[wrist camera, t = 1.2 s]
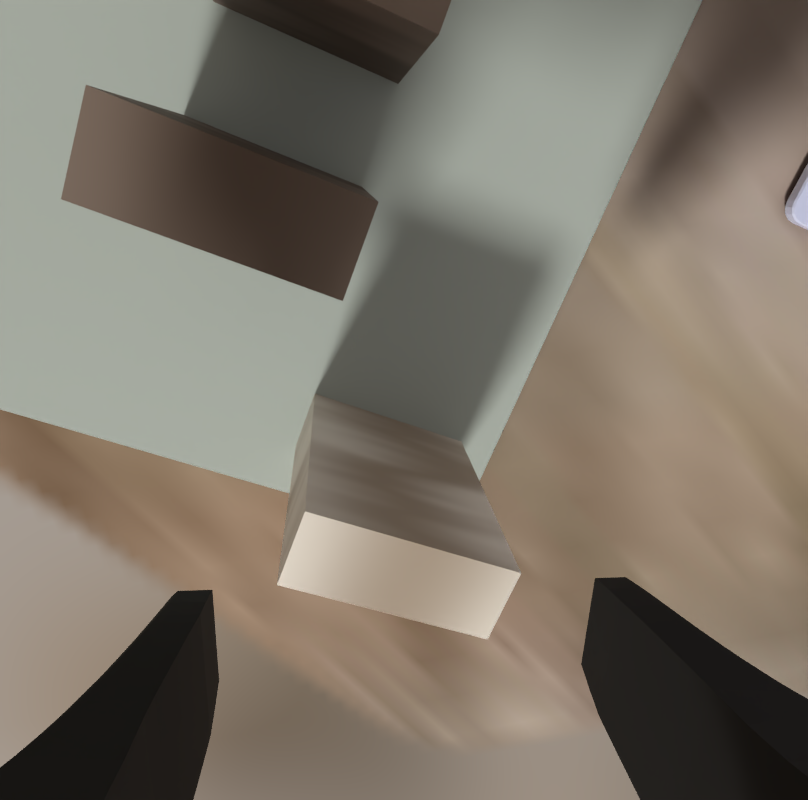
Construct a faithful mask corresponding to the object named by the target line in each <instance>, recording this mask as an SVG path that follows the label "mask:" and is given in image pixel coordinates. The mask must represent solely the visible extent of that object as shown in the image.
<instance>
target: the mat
mask: <svg viewBox="0 0 808 800" xmlns="http://www.w3.org/2000/svg"><path fill="white" fill-rule="evenodd" d="M701 2H702V0H451V3H450V6H449V8H448V11H447V14H446V17H445V19H444V22H443V25H442V28H441V31H440V33H439V35H438V36H437V38H436V39H435V40H434V41H433V42H432V44H431V45H430V46H429V47H428V49H427V50H426V51H425V52H424V53H423V55H422V56H421V57H420V58H419V59H418V61H417V62H416V63H415V64H414V65H413V67H412V68H411V69H410V70H409V71H408V73H407V74H406V75H405V76H404V78H403V79H402V80H401V81H400V82H399V84H397V83H395V82H393V81H391V80H388V79H386V78H384V77H382V76H379V75H377V74H375V73H373V72H370V71H368V70H366V69H364V68H361V67H359V66H357V65H355V64H352V63H350V62H348V61H346V60H343V59H341V58H339V57H337V56H334V55H332V54H330V53H328V52H325V51H323V50H321V49H319V48H316V47H314V46H312V45H310V44H307V43H305V42H303V41H301V40H298V39H296V38H294V37H292V36H289V35H287V34H285V33H283V32H280V31H278V30H276V29H274V28H271V27H269V26H267V25H265V24H262V23H260V22H258V21H256V20H253V19H251V18H249V17H247V16H244V15H242V14H240V13H238V12H235V11H233V10H231V9H229V8H226V7H224V6H222V5H220V4H217V3H215V2H213V0H0V409H1V410H4V411H8V412H11V413H15V414H18V415H21V416H25V417H28V418H32V419H35V420H39V421H42V422H46V423H49V424H52V425H56V426H59V427H63V428H66V429H70V430H73V431H77V432H80V433H83V434H87V435H90V436H94V437H97V438H101V439H104V440H108V441H111V442H114V443H118V444H121V445H125V446H128V447H132V448H135V449H138V450H142V451H145V452H149V453H152V454H156V455H159V456H163V457H166V458H169V459H173V460H176V461H180V462H183V463H187V464H190V465H194V466H197V467H200V468H204V469H207V470H211V471H214V472H218V473H221V474H225V475H228V476H231V477H235V478H238V479H242V480H245V481H249V482H252V483H256V484H259V485H262V486H266V487H269V488H273V489H276V490H280V491H283V492H287V493H289V492H290V485H291V477H292V470H293V463H294V455H295V448H296V444H297V441H298V438H299V436H300V433H301V430H302V427H303V425H304V422H305V419H306V416H307V414H308V411H309V408H310V405H311V403H312V400H313V397H314V394H318V395H321V396H324V397H327V398H330V399H333V400H336V401H339V402H342V403H345V404H348V405H351V406H354V407H358V408H361V409H364V410H367V411H370V412H373V413H376V414H379V415H382V416H385V417H388V418H391V419H394V420H397V421H400V422H403V423H406V424H410V425H413V426H416V427H419V428H422V429H425V430H428V431H431V432H434V433H437V434H440V435H443V436H446V437H449V438H452V439H455V440H458V441H461V442H462V444H463V446H464V448H465V451H466V453H467V455H468V457H469V459H470V462H471V464H472V466H473V468H474V470H475V473H476V475H477V477H478V479H479V481H480V479H481V476H482V474H483V472H484V470H485V468H486V466H487V463H488V461H489V459H490V457H491V455H492V453H493V451H494V448H495V446H496V444H497V442H498V440H499V438H500V435H501V433H502V431H503V429H504V427H505V425H506V423H507V420H508V418H509V416H510V414H511V412H512V410H513V407H514V405H515V403H516V401H517V399H518V397H519V395H520V392H521V390H522V388H523V386H524V384H525V382H526V379H527V377H528V375H529V373H530V371H531V369H532V367H533V364H534V362H535V360H536V358H537V356H538V354H539V351H540V349H541V347H542V345H543V343H544V341H545V338H546V336H547V334H548V332H549V330H550V328H551V326H552V323H553V321H554V319H555V317H556V315H557V313H558V310H559V308H560V306H561V304H562V302H563V300H564V298H565V295H566V293H567V291H568V289H569V287H570V285H571V282H572V280H573V278H574V276H575V274H576V272H577V270H578V267H579V265H580V263H581V261H582V259H583V257H584V254H585V252H586V250H587V248H588V246H589V244H590V242H591V239H592V237H593V235H594V233H595V231H596V229H597V226H598V224H599V222H600V220H601V218H602V216H603V213H604V211H605V209H606V207H607V205H608V203H609V201H610V198H611V196H612V194H613V192H614V190H615V188H616V185H617V183H618V181H619V179H620V177H621V175H622V173H623V170H624V168H625V166H626V164H627V162H628V160H629V157H630V155H631V153H632V151H633V149H634V147H635V145H636V142H637V140H638V138H639V136H640V134H641V132H642V129H643V127H644V125H645V123H646V121H647V119H648V117H649V114H650V112H651V110H652V108H653V106H654V104H655V101H656V99H657V97H658V95H659V93H660V91H661V89H662V86H663V84H664V82H665V80H666V78H667V76H668V73H669V71H670V69H671V67H672V65H673V63H674V60H675V58H676V56H677V54H678V52H679V50H680V48H681V45H682V43H683V41H684V39H685V37H686V35H687V32H688V30H689V28H690V26H691V24H692V22H693V20H694V17H695V15H696V13H697V11H698V9H699V7H700V4H701ZM86 85H88V86H92V87H95V88H98V89H101V90H105V91H108V92H111V93H114V94H118V95H121V96H124V97H127V98H131V99H134V100H137V101H140V102H144V103H147V104H150V105H153V106H157V107H160V108H163V109H166V110H170V111H173V112H176V113H179V114H183V115H185V116H188V117H190V118H193V119H195V120H198V121H200V122H203V123H205V124H208V125H210V126H213V127H215V128H218V129H220V130H223V131H225V132H227V133H230V134H232V135H235V136H237V137H240V138H242V139H245V140H247V141H250V142H252V143H255V144H257V145H260V146H262V147H265V148H267V149H270V150H272V151H275V152H277V153H280V154H282V155H284V156H287V157H289V158H292V159H294V160H297V161H299V162H302V163H304V164H307V165H309V166H312V167H314V168H317V169H319V170H322V171H324V172H327V173H329V174H332V175H334V176H337V177H339V178H341V179H344V180H346V181H349V182H351V183H354V184H356V185H359V186H361V187H363V188H364V189H365V190H366V191H367V192H368V193H369V194H370V195H372V196H373V197H374V198H375V199H376V200H377V201H378V205H377V208H376V211H375V213H374V216H373V219H372V222H371V225H370V227H369V230H368V233H367V236H366V238H365V241H364V244H363V247H362V249H361V252H360V255H359V258H358V261H357V263H356V266H355V269H354V272H353V274H352V277H351V280H350V283H349V286H348V288H347V291H346V294H345V297H344V299H343V301H341V300H338V299H335V298H333V297H330V296H327V295H324V294H322V293H319V292H316V291H313V290H311V289H308V288H305V287H302V286H300V285H297V284H294V283H291V282H288V281H286V280H283V279H280V278H277V277H275V276H272V275H269V274H266V273H264V272H261V271H258V270H255V269H253V268H250V267H247V266H244V265H241V264H239V263H236V262H233V261H230V260H228V259H225V258H222V257H219V256H217V255H214V254H211V253H208V252H206V251H203V250H200V249H197V248H194V247H192V246H189V245H186V244H183V243H181V242H178V241H175V240H172V239H170V238H167V237H164V236H161V235H159V234H156V233H153V232H150V231H147V230H145V229H142V228H139V227H136V226H134V225H131V224H128V223H125V222H123V221H120V220H117V219H114V218H112V217H109V216H106V215H103V214H100V213H98V212H95V211H92V210H89V209H87V208H84V207H81V206H78V205H76V204H73V203H70V202H67V201H64V200H62V199H61V196H62V192H63V187H64V183H65V178H66V173H67V169H68V164H69V160H70V155H71V150H72V146H73V141H74V137H75V132H76V127H77V123H78V118H79V114H80V109H81V105H82V100H83V95H84V91H85V86H86Z"/></svg>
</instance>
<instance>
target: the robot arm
mask: <svg viewBox="0 0 808 800" xmlns="http://www.w3.org/2000/svg"><path fill="white" fill-rule="evenodd" d="M785 214H786V216H787V219H788V220H789V221H791V222H792V223H793V224H796V225H798V226H800V227H802V228H804V229H807V230H808V164H807V165H806V167H805V169H804V171H803V173H802V175H801V176H800V178H799V180H798V182H797V184H796V186H795V187H794V189H793V191H792V193H791V195H790V197H789V198H788V201H787V203H786V206H785ZM581 664H582V667H583V670H584V673H585V676H586V680H587V683H588V686H589V689H590V692H591V695H592V697H593V700H594V703H595V706H596V708H597V711H598V714H599V716H600V718H601V720H602V723H603V725H604V727H605V729H606V731H607V733H608V735H609V737H610V739H611V741H612V743H613V745H614V747H615V749H616V751H617V753H618V756H619V758H620V760H621V762H622V764H623V766H624V768H625V770H626V772H627V773H628V776H629V778H630V780H631V782H632V784H633V786H634V788H635V790H636V791H637V794H638V796H639V798H640V800H808V699H807V698H805V697H803V696H802V695H800V694H798V693H796V692H794V691H793V690H791V689H789V688H788V687H786V686H784V685H783V684H781V683H779V682H778V681H776V680H774V679H773V678H771V677H770V676H768V675H767V674H765V673H763V672H762V671H760V670H759V669H757V668H756V667H754V666H752V665H751V664H749V663H748V662H746V661H745V660H743V659H742V658H740V657H739V656H737V655H736V654H734V653H733V652H731V651H730V650H728V649H727V648H725V647H724V646H722V645H721V644H719V643H718V642H717V641H715V640H714V639H712V638H711V637H709V636H708V635H707V634H705V633H704V632H702V631H701V630H699V629H698V628H697V627H695V626H694V625H692V624H691V623H690V622H688V621H687V620H685V619H684V618H683V617H681V616H680V615H679V614H677V613H676V612H674V611H673V610H672V609H670V608H669V607H668V606H666V605H665V604H663V603H662V602H661V601H659V600H658V599H657V598H655V597H654V596H652V595H651V594H650V593H648V592H647V591H645V590H644V589H642V588H641V587H640V586H638V585H637V584H635V583H634V582H632V581H630V580H629V579H627V578H626V577H620V578H595V582H594V588H593V595H592V601H591V607H590V613H589V620H588V626H587V632H586V638H585V645H584V651H583V657H582V663H581ZM218 683H219V674H218V662H217V648H216V634H215V621H214V607H213V594H212V590H196V591H177V592H176V593H175V594H174V595H173V596H172V597H171V598H170V599H169V600H168V602H167V603H166V604H165V605H164V607H163V608H162V609H161V610H160V611H159V612H158V614H157V615H156V616H155V617H154V618H153V620H152V621H151V622H150V623H149V624H148V625H147V626H146V628H145V629H144V630H143V631H142V632H141V633H140V634H139V636H138V637H137V638H136V639H135V640H134V641H133V643H132V644H131V645H130V646H129V647H128V648H127V649H126V650H125V651H124V652H123V653H122V654H121V656H120V657H119V658H118V659H117V660H116V661H115V662H114V663H113V664H112V665H111V666H110V667H109V669H108V670H107V671H106V672H105V673H104V674H103V675H102V676H101V677H100V678H99V679H98V680H97V681H96V682H95V683H94V684H93V685H92V686H91V687H90V688H89V689H88V690H87V691H86V692H85V693H84V694H83V695H82V696H81V697H80V698H79V699H78V700H77V701H76V702H75V703H74V704H73V705H72V706H71V707H70V708H69V709H68V710H67V711H66V712H65V713H63V714H62V715H61V716H60V717H59V718H58V719H57V720H56V721H55V722H54V723H52V724H51V725H50V726H49V727H48V728H47V729H46V730H45V731H44V732H43V733H42V734H40V735H39V736H38V737H37V738H36V739H34V740H33V741H32V742H31V743H30V744H29V745H27V746H26V747H25V748H24V749H23V750H21V751H20V752H19V753H18V754H17V755H16V756H14V757H13V758H12V759H11V760H10V761H8V762H7V763H6V764H4V765H3V766H2V767H1V768H0V800H193V799H194V795H195V791H196V788H197V784H198V780H199V776H200V773H201V769H202V766H203V762H204V758H205V754H206V751H207V747H208V743H209V739H210V735H211V729H212V723H213V717H214V710H215V704H216V697H217V690H218Z"/></svg>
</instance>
